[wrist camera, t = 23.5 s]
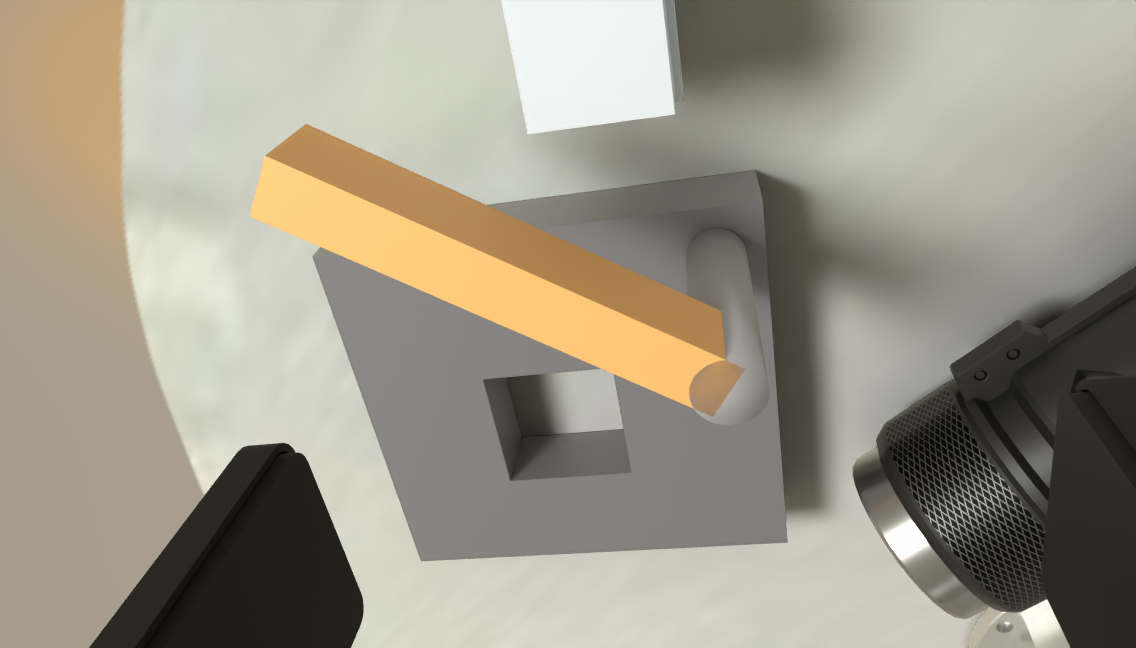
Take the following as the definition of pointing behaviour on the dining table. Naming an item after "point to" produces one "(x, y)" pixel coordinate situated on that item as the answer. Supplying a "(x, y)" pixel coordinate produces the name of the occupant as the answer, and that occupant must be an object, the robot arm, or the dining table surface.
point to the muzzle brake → (990, 456)
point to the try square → (529, 274)
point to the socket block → (493, 352)
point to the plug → (594, 60)
